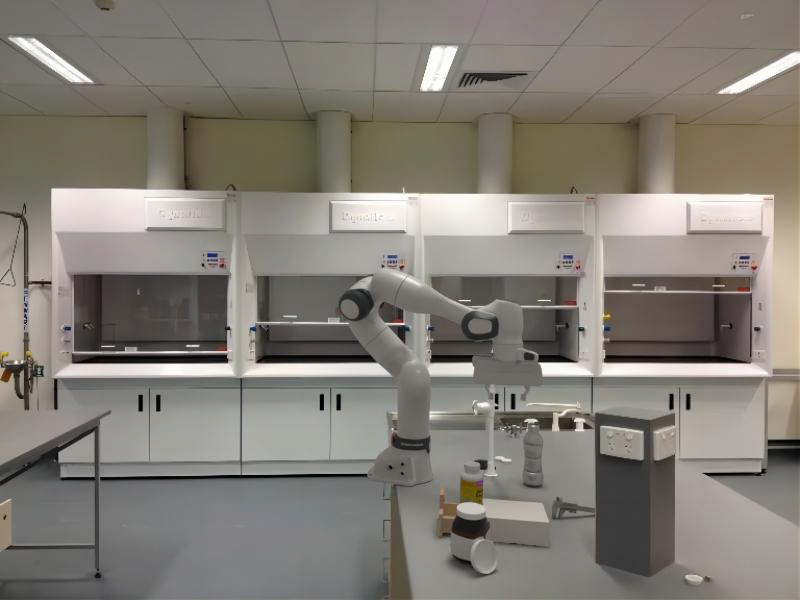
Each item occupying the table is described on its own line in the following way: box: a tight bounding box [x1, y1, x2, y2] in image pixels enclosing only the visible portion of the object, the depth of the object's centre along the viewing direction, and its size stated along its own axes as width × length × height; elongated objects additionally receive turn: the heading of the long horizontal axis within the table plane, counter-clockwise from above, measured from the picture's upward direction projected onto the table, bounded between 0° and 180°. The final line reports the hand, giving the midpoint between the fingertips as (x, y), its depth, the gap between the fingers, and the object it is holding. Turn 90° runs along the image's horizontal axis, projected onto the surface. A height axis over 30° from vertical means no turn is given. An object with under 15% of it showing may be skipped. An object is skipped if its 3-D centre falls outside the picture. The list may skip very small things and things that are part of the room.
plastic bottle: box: [522, 422, 544, 487], centre depth 163 cm, size 6×7×20 cm
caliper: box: [551, 496, 596, 520], centre depth 140 cm, size 20×1×6 cm, turn 100°
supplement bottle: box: [459, 460, 484, 505], centre depth 144 cm, size 7×7×13 cm
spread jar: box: [450, 502, 499, 575], centre depth 114 cm, size 12×11×12 cm
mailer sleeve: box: [482, 498, 550, 548], centre depth 129 cm, size 16×12×6 cm
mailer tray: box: [438, 487, 483, 538], centre depth 131 cm, size 16×12×9 cm
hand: (507, 399), depth 147 cm, fingers open, 8 cm apart
